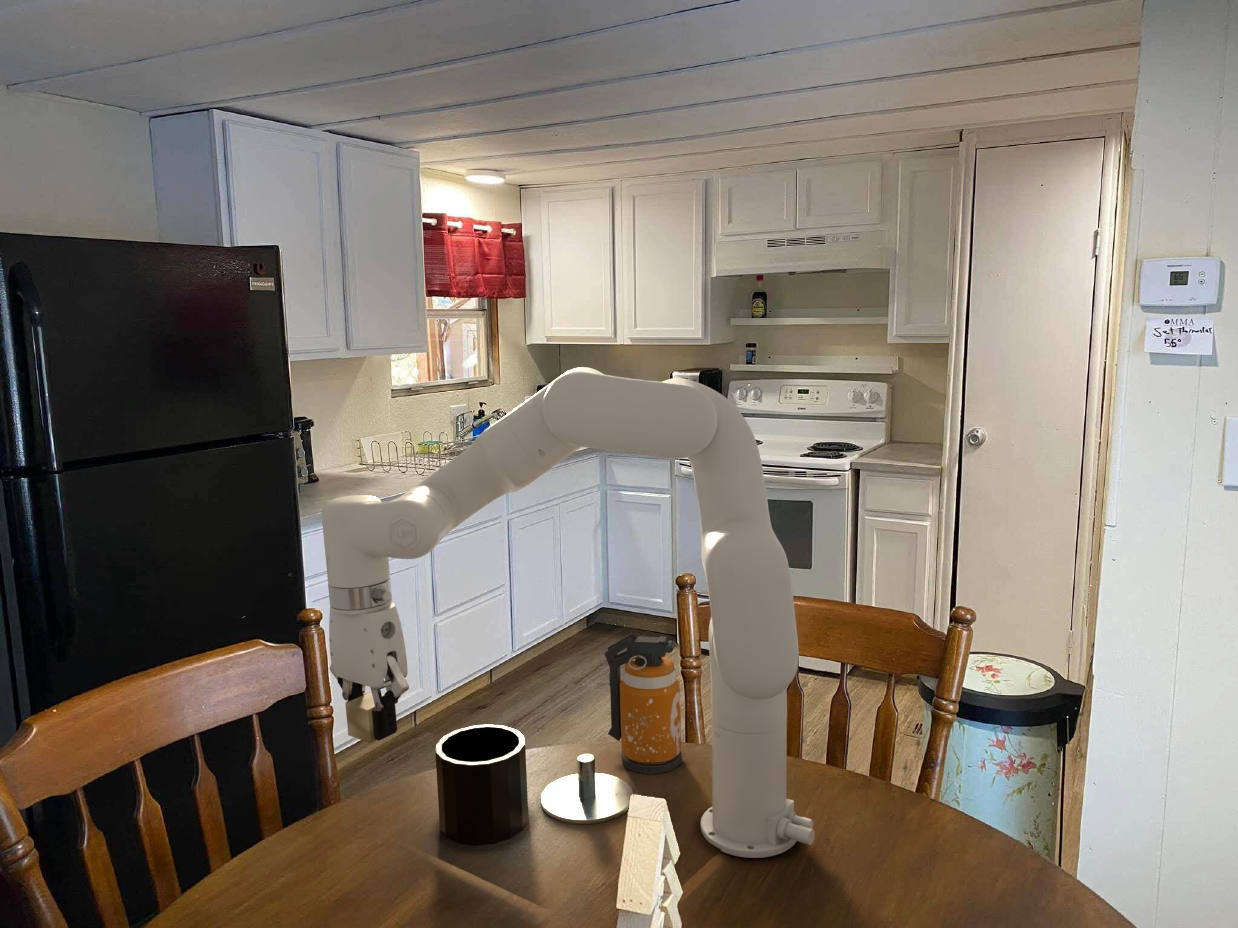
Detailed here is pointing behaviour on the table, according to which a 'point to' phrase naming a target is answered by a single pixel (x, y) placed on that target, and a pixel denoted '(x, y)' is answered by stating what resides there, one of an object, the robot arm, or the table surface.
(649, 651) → the canister
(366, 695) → the block
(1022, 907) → the table surface
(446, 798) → the dark pen holder
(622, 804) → the lid
